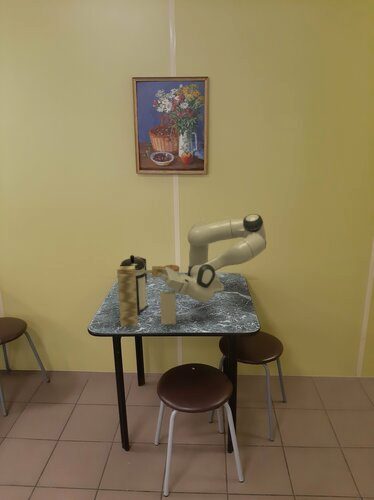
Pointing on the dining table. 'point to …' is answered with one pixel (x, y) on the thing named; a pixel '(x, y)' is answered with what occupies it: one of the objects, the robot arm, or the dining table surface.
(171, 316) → the cream rest post
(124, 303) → the birch bearing block
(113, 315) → the dining table surface
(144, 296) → the coffee press
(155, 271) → the beige mallet
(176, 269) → the lidded jar
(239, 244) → the robot arm
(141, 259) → the supplement box
